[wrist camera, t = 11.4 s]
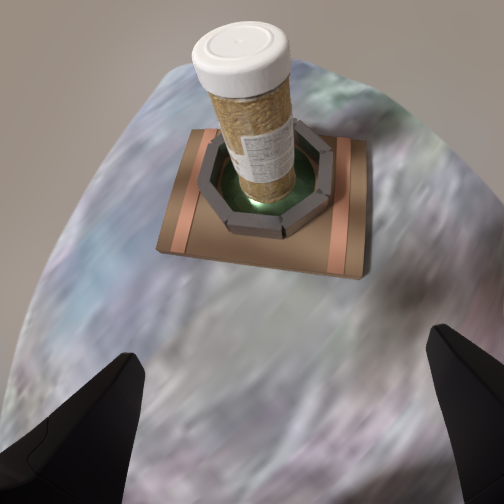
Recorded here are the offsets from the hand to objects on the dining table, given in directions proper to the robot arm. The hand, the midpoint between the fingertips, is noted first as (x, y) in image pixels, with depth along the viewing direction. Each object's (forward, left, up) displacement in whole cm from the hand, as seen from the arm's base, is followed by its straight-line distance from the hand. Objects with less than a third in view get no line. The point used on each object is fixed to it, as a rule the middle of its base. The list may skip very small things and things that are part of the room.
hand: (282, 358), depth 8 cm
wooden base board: (+12, +4, -14) cm, 18 cm away
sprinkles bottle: (+12, +4, -13) cm, 18 cm away
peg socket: (+13, +4, -14) cm, 19 cm away
